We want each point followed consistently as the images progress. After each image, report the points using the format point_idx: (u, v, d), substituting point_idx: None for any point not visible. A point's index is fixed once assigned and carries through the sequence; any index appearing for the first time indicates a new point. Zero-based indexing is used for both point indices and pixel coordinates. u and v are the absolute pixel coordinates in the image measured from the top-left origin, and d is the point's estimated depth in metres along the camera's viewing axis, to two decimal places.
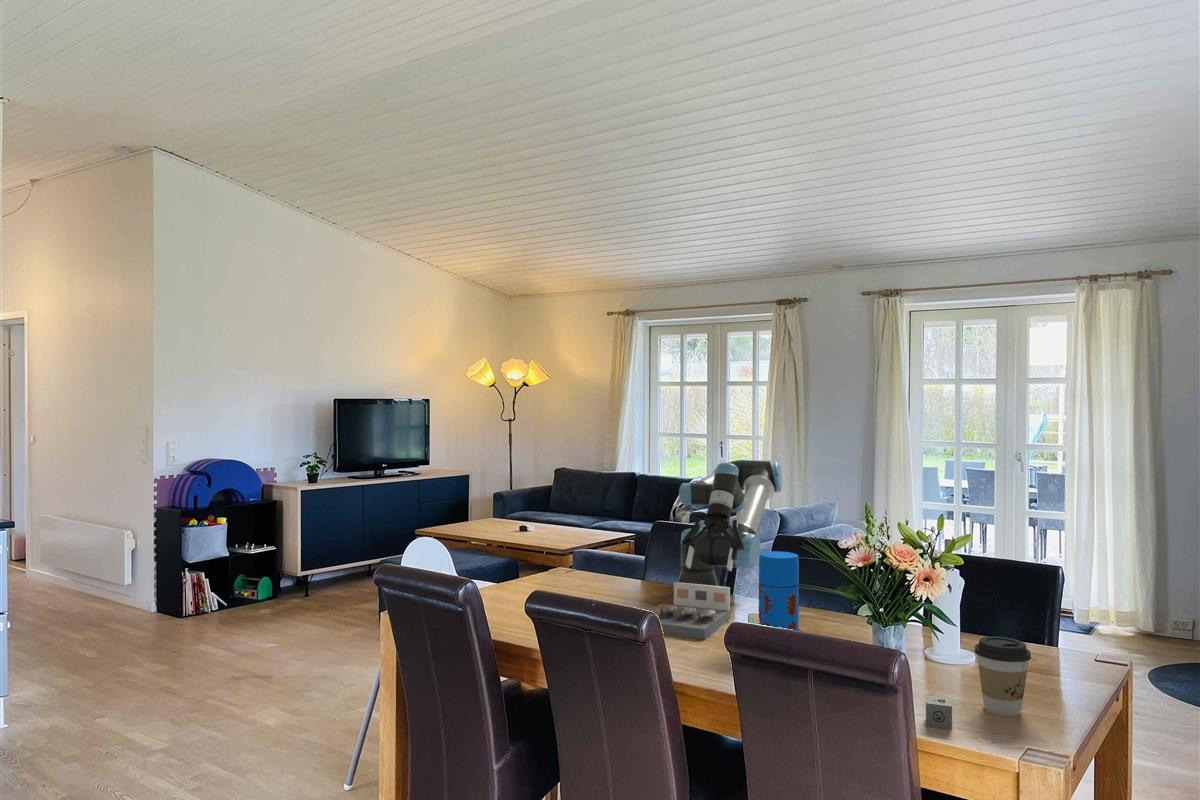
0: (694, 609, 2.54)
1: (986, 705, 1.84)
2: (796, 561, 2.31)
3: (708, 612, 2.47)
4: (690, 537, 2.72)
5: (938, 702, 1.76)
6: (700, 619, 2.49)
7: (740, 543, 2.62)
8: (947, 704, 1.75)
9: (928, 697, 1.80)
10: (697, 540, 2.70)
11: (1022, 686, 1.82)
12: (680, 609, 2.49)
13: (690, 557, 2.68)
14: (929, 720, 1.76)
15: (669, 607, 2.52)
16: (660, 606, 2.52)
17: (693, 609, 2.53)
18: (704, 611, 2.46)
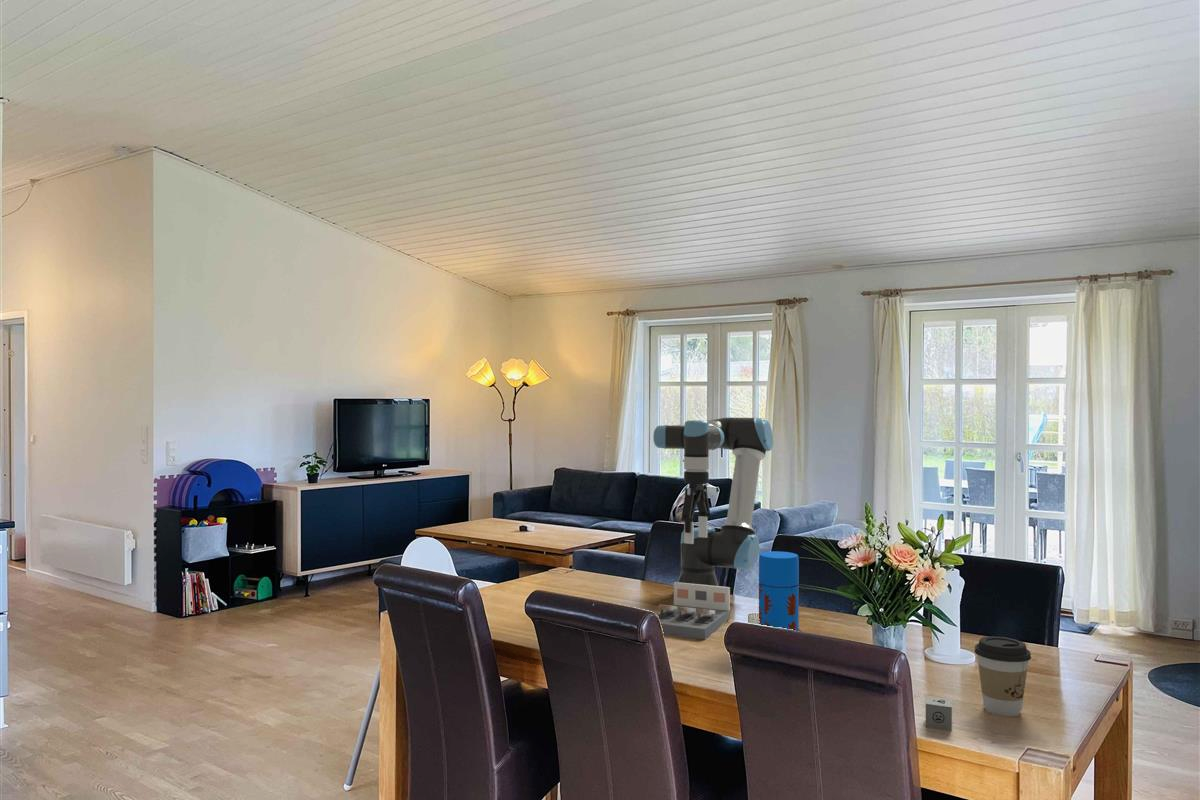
0: (694, 609, 2.54)
1: (986, 705, 1.84)
2: (796, 561, 2.31)
3: (708, 612, 2.47)
4: None
5: (938, 703, 1.76)
6: (700, 619, 2.49)
7: None
8: (947, 705, 1.75)
9: (928, 697, 1.79)
10: (701, 509, 2.65)
11: (1022, 686, 1.82)
12: (680, 609, 2.49)
13: (702, 527, 2.65)
14: (929, 721, 1.75)
15: (669, 607, 2.52)
16: (660, 606, 2.52)
17: (693, 609, 2.53)
18: (704, 611, 2.46)
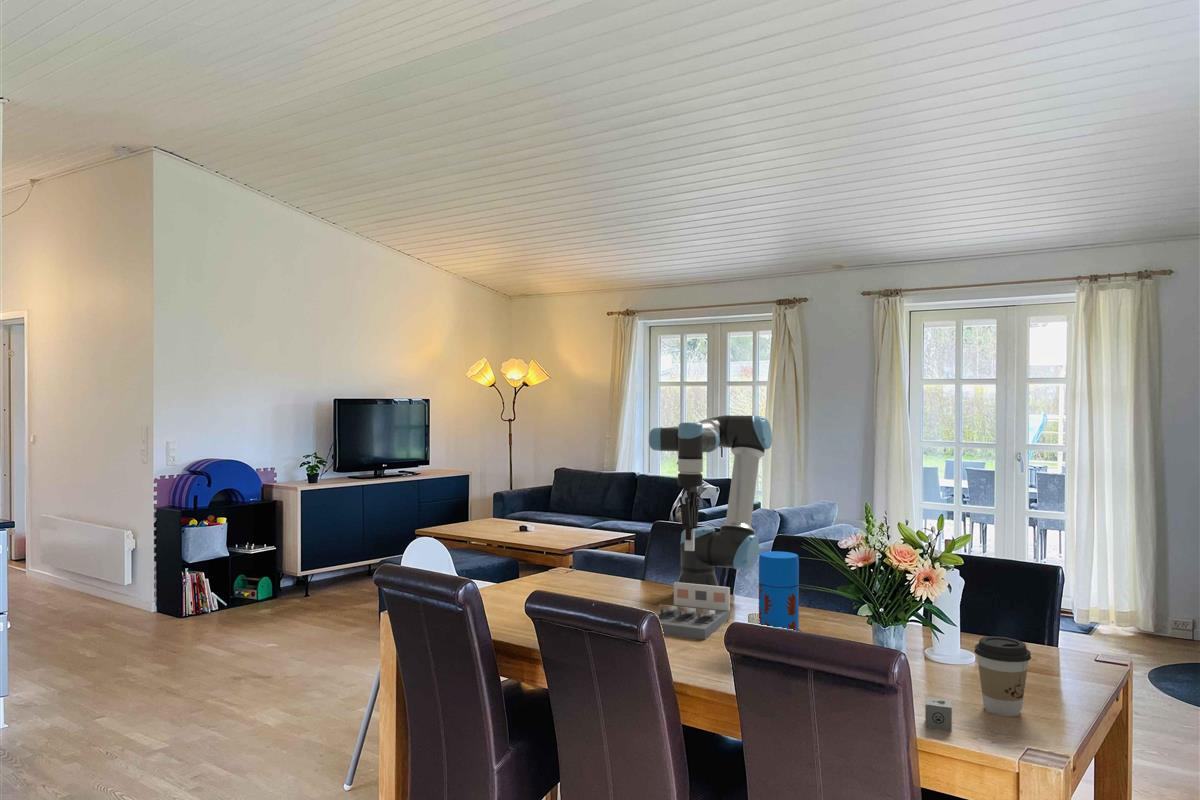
0: (694, 609, 2.54)
1: (986, 705, 1.84)
2: (796, 561, 2.31)
3: (708, 612, 2.47)
4: None
5: (938, 703, 1.76)
6: (700, 619, 2.49)
7: None
8: (947, 705, 1.75)
9: (927, 698, 1.79)
10: None
11: (1022, 686, 1.82)
12: (680, 609, 2.49)
13: None
14: (929, 721, 1.75)
15: (669, 607, 2.52)
16: (660, 606, 2.52)
17: (693, 609, 2.53)
18: (704, 611, 2.46)
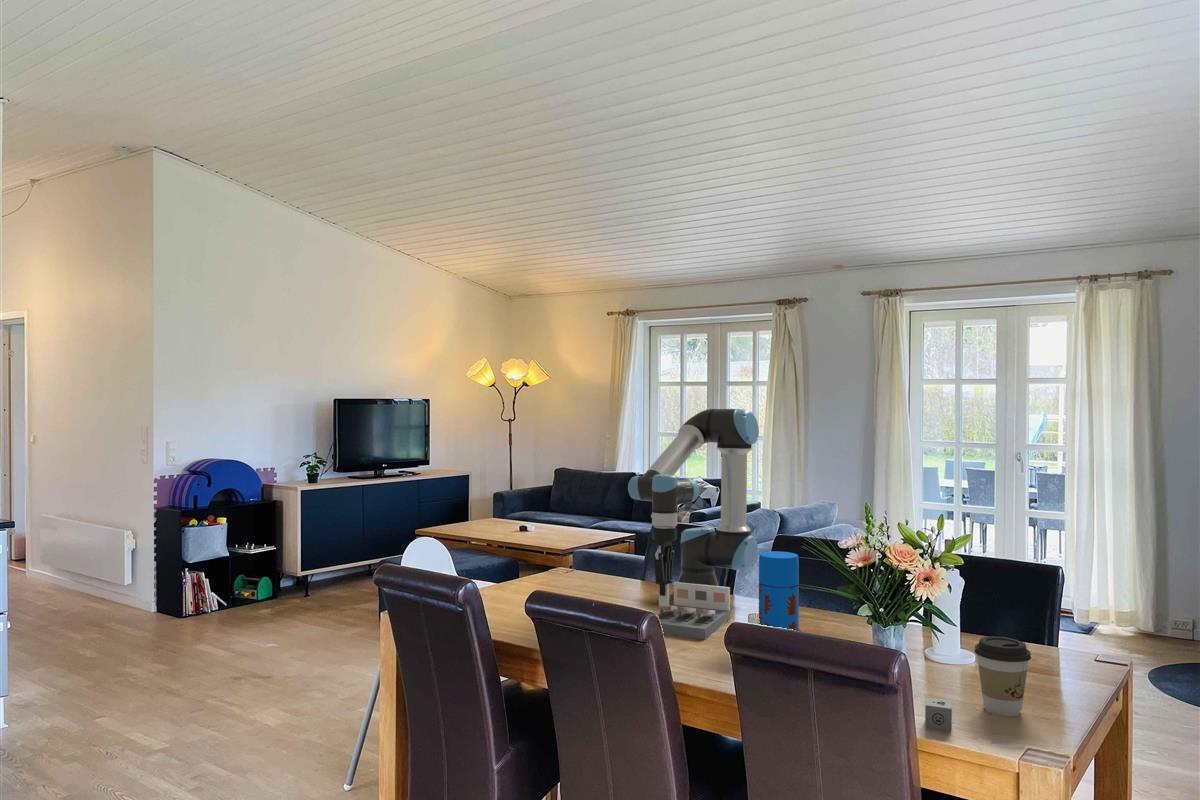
0: (694, 609, 2.54)
1: (986, 705, 1.84)
2: (796, 561, 2.31)
3: (708, 612, 2.47)
4: None
5: (938, 704, 1.75)
6: (700, 619, 2.49)
7: None
8: (947, 706, 1.74)
9: (927, 699, 1.78)
10: None
11: (1022, 686, 1.82)
12: (680, 609, 2.49)
13: None
14: (928, 722, 1.75)
15: (669, 607, 2.52)
16: (660, 606, 2.52)
17: (693, 609, 2.53)
18: (704, 611, 2.46)
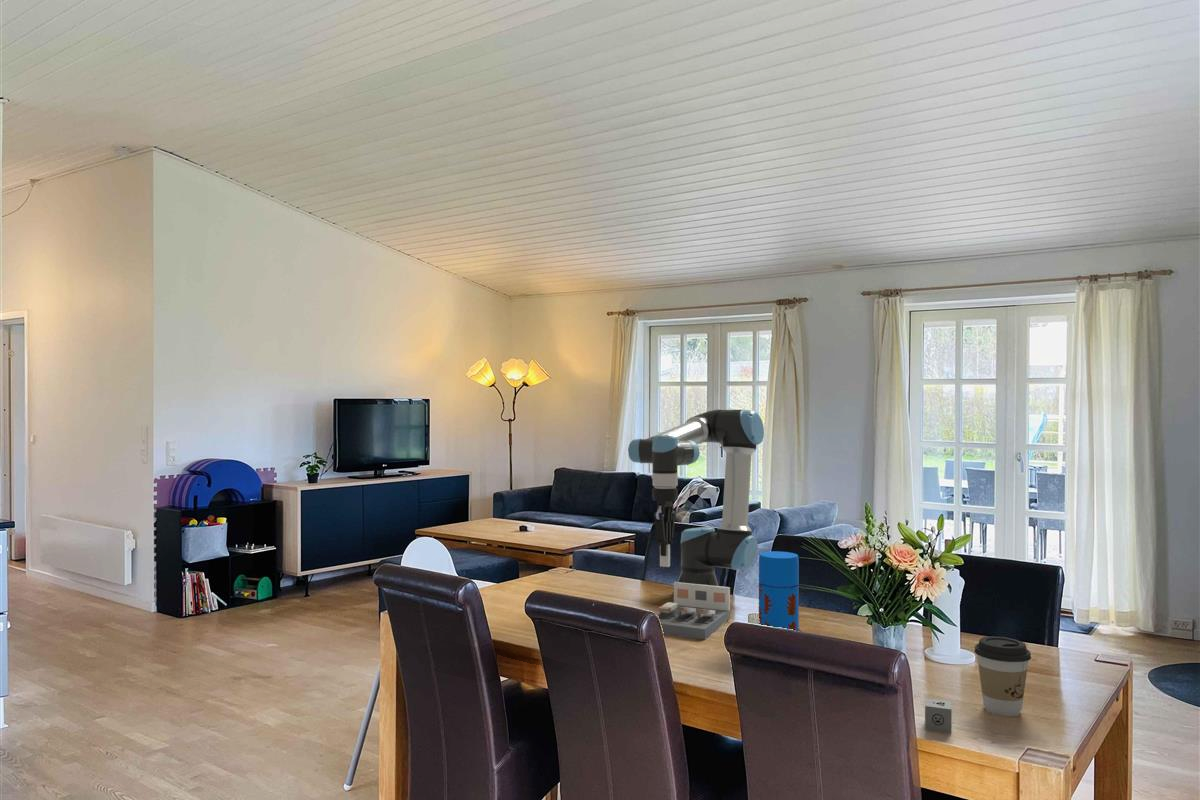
0: (694, 609, 2.54)
1: (986, 705, 1.84)
2: (796, 561, 2.31)
3: (708, 612, 2.47)
4: None
5: (937, 705, 1.75)
6: (700, 619, 2.49)
7: None
8: (946, 707, 1.74)
9: (927, 699, 1.78)
10: None
11: (1022, 686, 1.82)
12: (680, 609, 2.49)
13: None
14: (928, 723, 1.74)
15: (669, 609, 2.52)
16: (660, 609, 2.52)
17: (693, 609, 2.53)
18: (704, 611, 2.46)
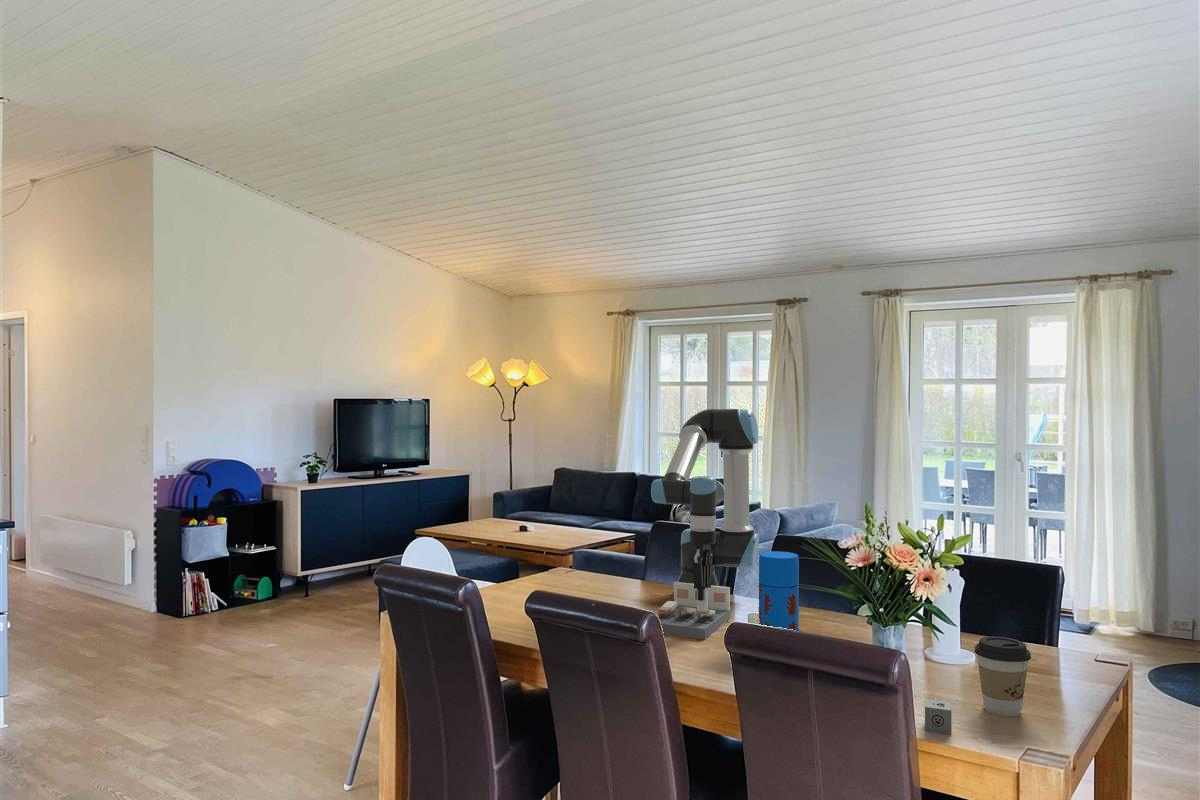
0: (694, 609, 2.54)
1: (986, 705, 1.84)
2: (796, 561, 2.31)
3: (708, 612, 2.47)
4: None
5: (937, 706, 1.74)
6: (700, 619, 2.49)
7: None
8: (946, 708, 1.73)
9: (927, 700, 1.77)
10: None
11: (1022, 686, 1.82)
12: (680, 609, 2.49)
13: None
14: (928, 724, 1.74)
15: (669, 610, 2.52)
16: (660, 611, 2.52)
17: (693, 609, 2.53)
18: None
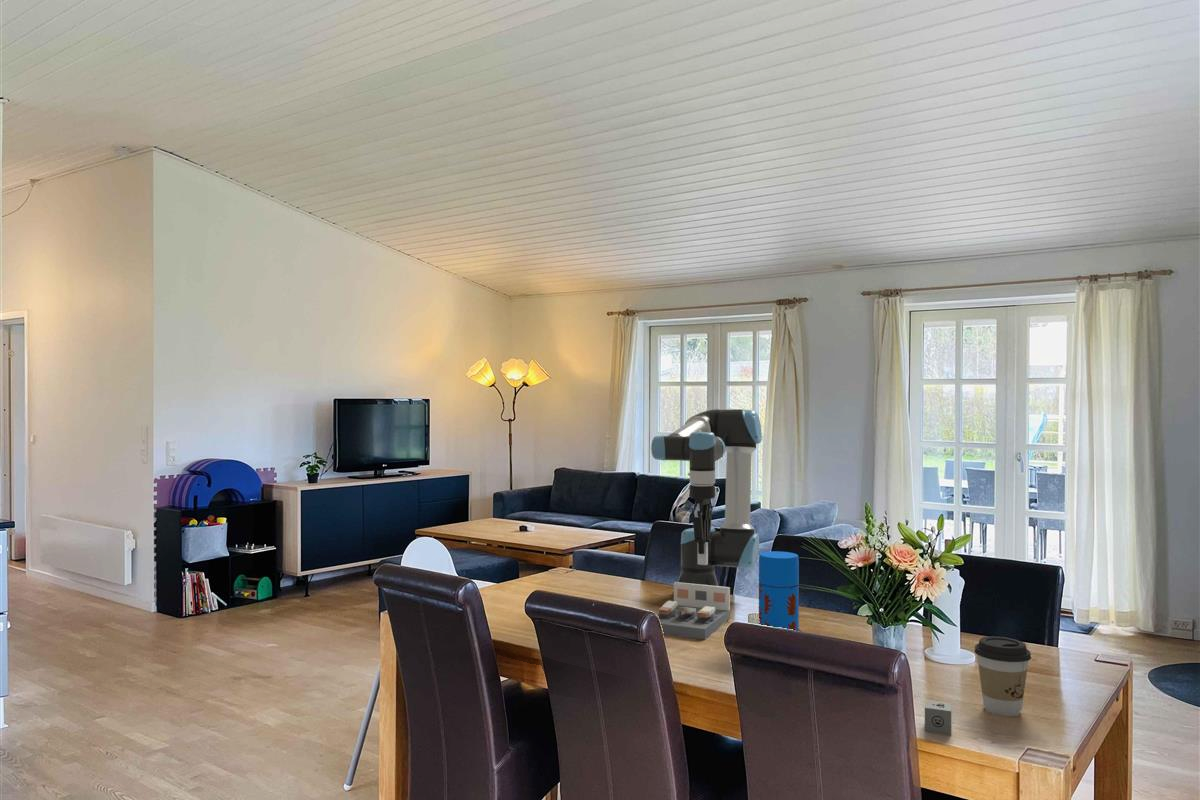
0: (694, 609, 2.54)
1: (986, 705, 1.84)
2: (796, 561, 2.31)
3: (708, 614, 2.47)
4: None
5: (937, 707, 1.74)
6: (700, 619, 2.49)
7: None
8: (946, 709, 1.73)
9: (927, 701, 1.77)
10: None
11: (1022, 686, 1.82)
12: (680, 609, 2.49)
13: None
14: (928, 725, 1.73)
15: (669, 611, 2.52)
16: (660, 611, 2.52)
17: (693, 609, 2.53)
18: (704, 615, 2.46)
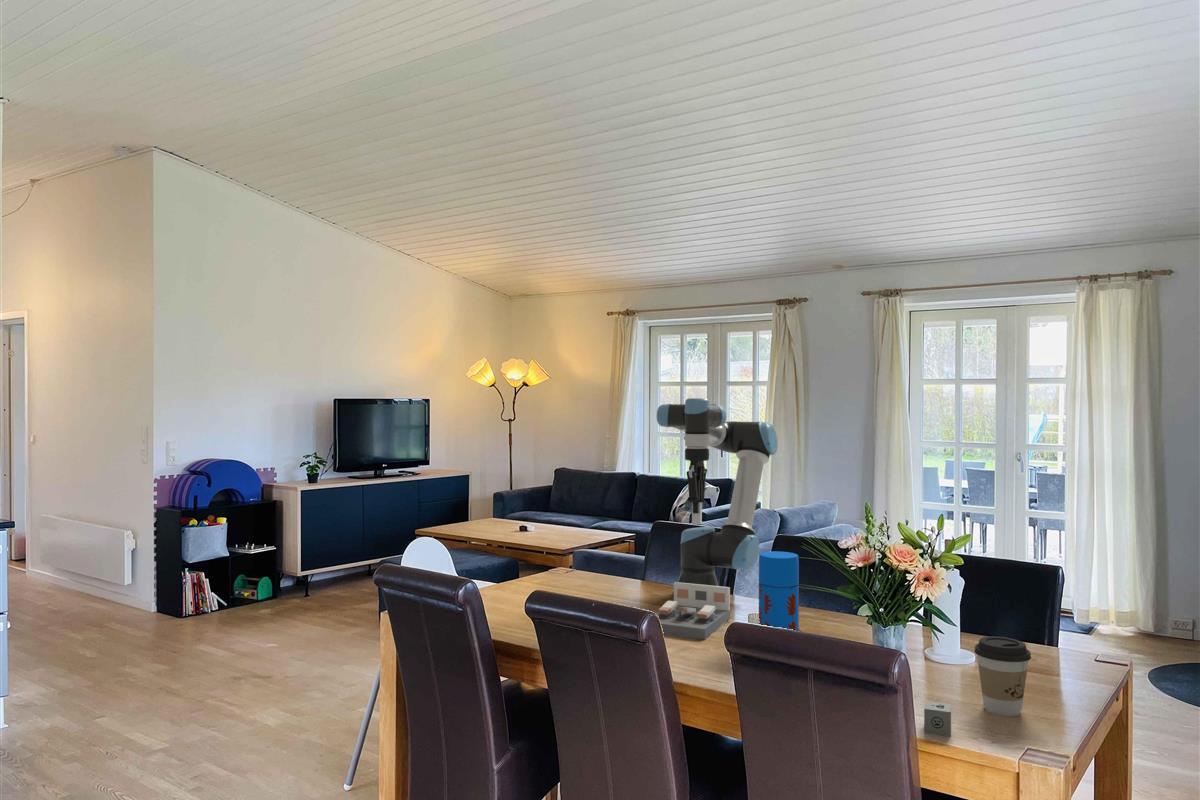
0: (694, 609, 2.54)
1: (986, 705, 1.84)
2: (796, 561, 2.31)
3: (708, 615, 2.47)
4: None
5: (937, 708, 1.73)
6: (700, 619, 2.49)
7: None
8: (946, 710, 1.72)
9: (926, 702, 1.76)
10: None
11: (1022, 686, 1.82)
12: (680, 609, 2.49)
13: (696, 513, 2.64)
14: (927, 726, 1.73)
15: (669, 611, 2.52)
16: (660, 611, 2.52)
17: (693, 609, 2.53)
18: (704, 616, 2.46)
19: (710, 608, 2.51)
